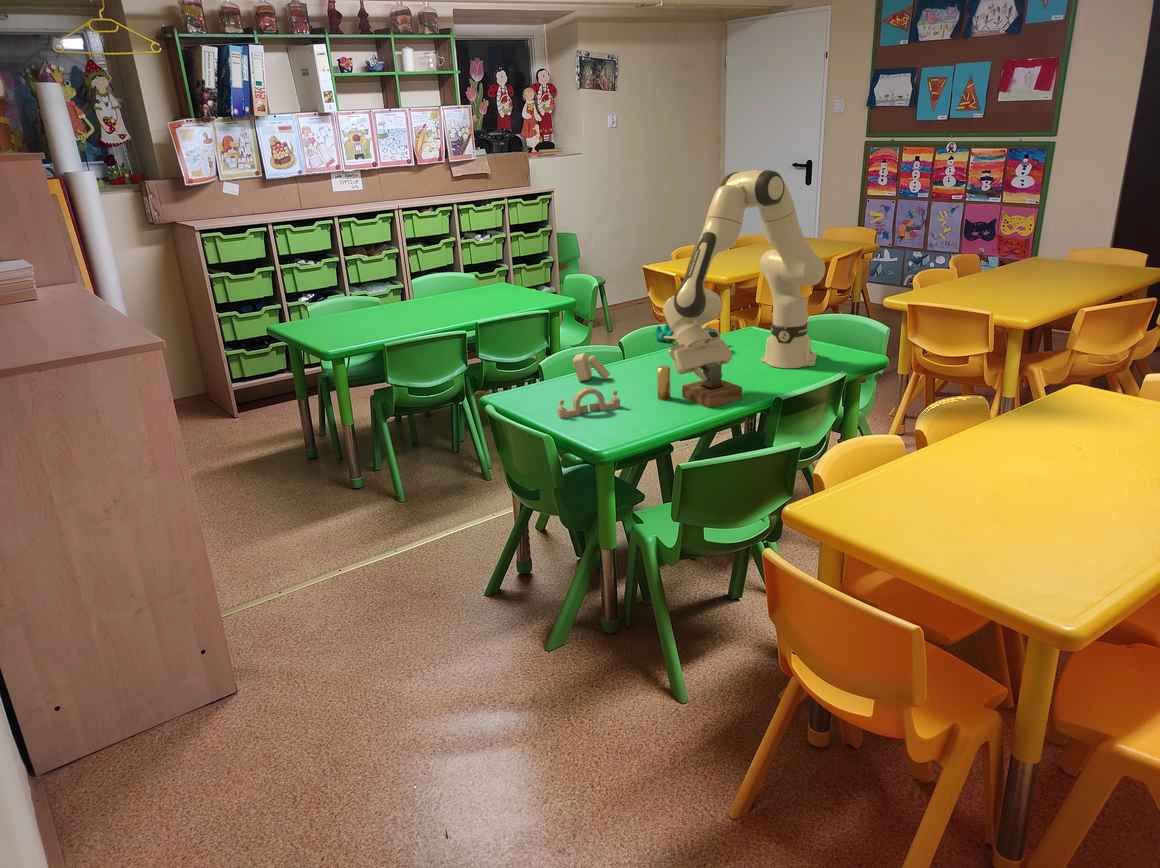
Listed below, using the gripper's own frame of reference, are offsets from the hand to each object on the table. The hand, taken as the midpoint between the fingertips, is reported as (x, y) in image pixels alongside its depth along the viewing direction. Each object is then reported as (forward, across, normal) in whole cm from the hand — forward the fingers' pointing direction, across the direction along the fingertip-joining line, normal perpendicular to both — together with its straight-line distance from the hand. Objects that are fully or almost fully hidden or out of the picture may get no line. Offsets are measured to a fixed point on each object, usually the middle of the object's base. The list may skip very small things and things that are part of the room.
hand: (713, 379), depth 249 cm
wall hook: (-25, -18, +34) cm, 46 cm away
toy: (-34, +32, +44) cm, 64 cm away
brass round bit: (-3, -11, +12) cm, 17 cm away
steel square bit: (+3, 0, +4) cm, 5 cm away
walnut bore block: (+4, 0, +5) cm, 6 cm away
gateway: (-5, -36, +16) cm, 40 cm away
